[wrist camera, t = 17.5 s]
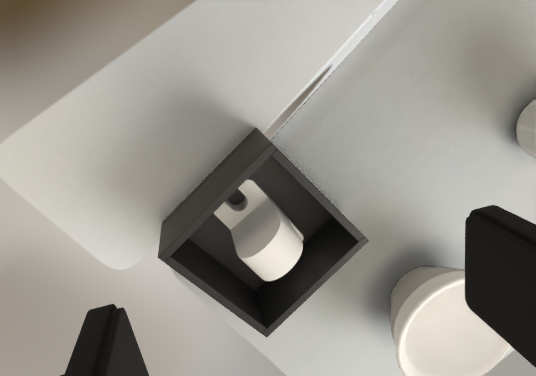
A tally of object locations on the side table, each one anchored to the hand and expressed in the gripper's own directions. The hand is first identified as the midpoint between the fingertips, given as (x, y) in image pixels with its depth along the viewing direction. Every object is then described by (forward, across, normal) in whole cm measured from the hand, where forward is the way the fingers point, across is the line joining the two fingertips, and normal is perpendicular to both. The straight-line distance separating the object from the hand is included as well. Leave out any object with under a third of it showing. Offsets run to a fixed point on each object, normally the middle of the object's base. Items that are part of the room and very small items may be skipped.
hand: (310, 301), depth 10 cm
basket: (+32, -2, +12) cm, 35 cm away
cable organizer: (+32, -2, +12) cm, 34 cm away
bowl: (+32, -22, +29) cm, 49 cm away
